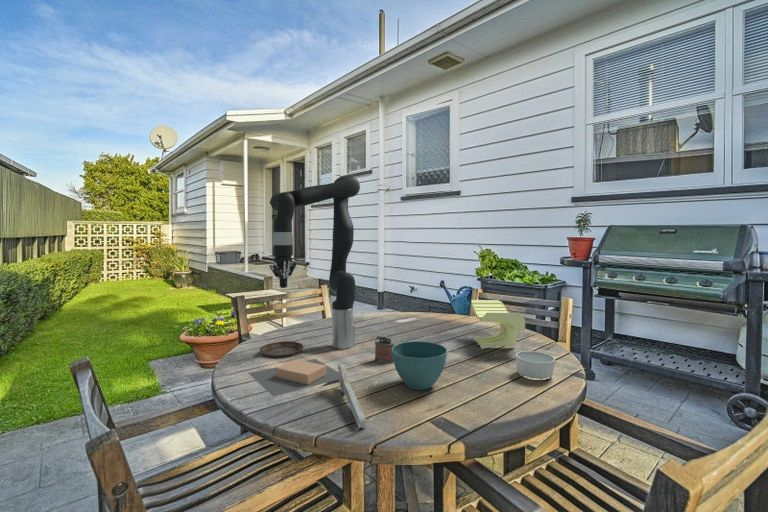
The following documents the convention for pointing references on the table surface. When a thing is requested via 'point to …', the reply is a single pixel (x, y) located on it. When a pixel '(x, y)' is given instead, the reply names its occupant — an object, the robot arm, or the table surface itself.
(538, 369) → the ramekin
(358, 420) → the wrench
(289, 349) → the plant saucer
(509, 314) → the slatted curved stool
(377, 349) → the lighter
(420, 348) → the teal bowl
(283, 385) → the mat
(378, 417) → the table surface
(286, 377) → the tan rectangular block
